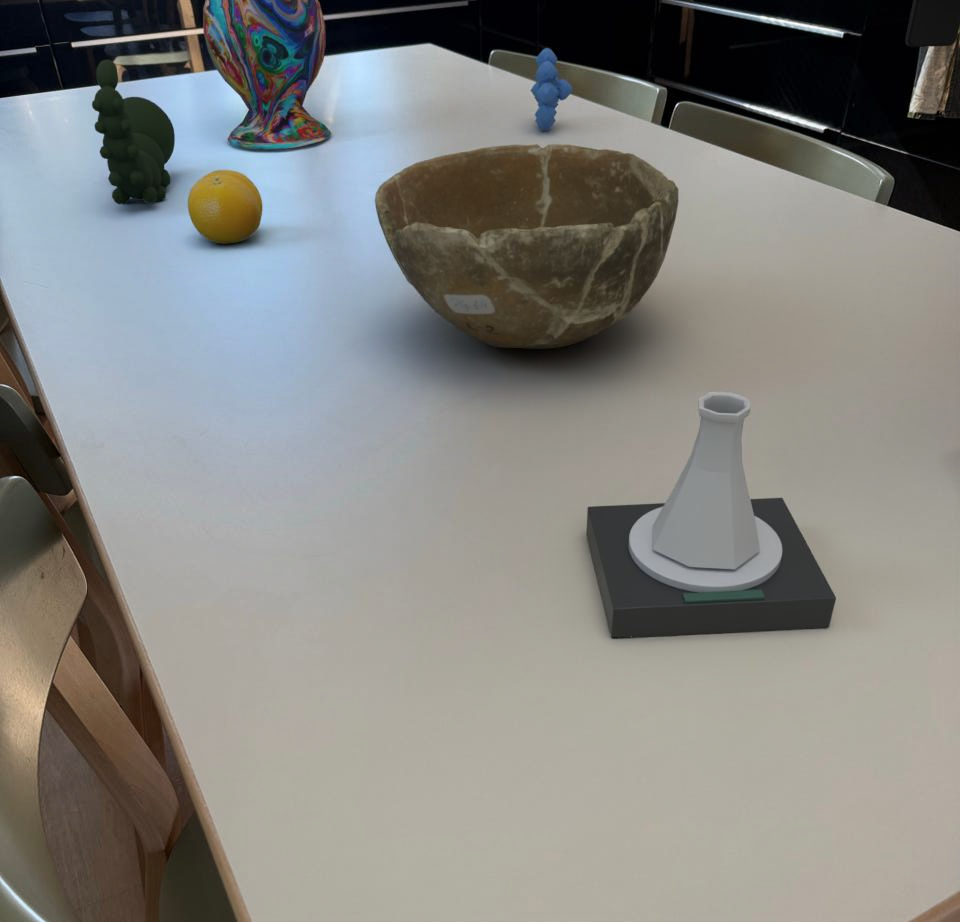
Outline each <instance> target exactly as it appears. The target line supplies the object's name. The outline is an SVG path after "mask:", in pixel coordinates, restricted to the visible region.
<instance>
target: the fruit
mask: <svg viewBox="0 0 960 922" xmlns="http://www.w3.org/2000/svg"><path fill="white" fill-rule="evenodd" d="M263 207H264V206H263V200H262V196H261V193H260V191H259V189H258V187H257V186H256V185H255V183H254V182H253V181H252V180H251V179H250V178H249V177H247V175H245V174H243V173H241V172H239V171H235V170H229V169H219V170H214V171H211V172H209V173H207V174H205V175H204V176H202V177H201V178H200V179H199V180H197V181H196V182H195V183H194V184H193V186H192V187H191V188H190V191H189V193H188V197H187V209H188V215H189V218H190V221H191V223H192V225H193V226H194V228H195V230H196V231H197V232H198V233H199V234H200V236H203V237H204V238H205V239H207V240H209V241H211V242H214V243H217V244H222V245H223V244H224V245H225V244H236V243H239V242H242V241H244V240H247V239H249V238H250V237H252V236H253V235H254V234H255V233H256V231H257V230H259V228H260V225H261V220H262V216H263Z"/></svg>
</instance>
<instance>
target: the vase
mask: <svg viewBox="0 0 960 922" xmlns="http://www.w3.org/2000/svg"><path fill="white" fill-rule="evenodd" d="M204 1H205V2H204V4H203V8H202V17H203V18H202V20H203V22H202V23H203V24H202V25H203V27H202V28H203V36H204V39H205V45H206V49H207V52H208V54H209V57H210V59H211V62H212V64H213V66H214V68H215V69H216V71H217V72H218V74H219V75H220V77H222V79H223V80H224V82H225V83H226V84H227V85H228V86H229V87H230V88H231V89H232V90H233V91H234V92H235V93H236V94H237V95H239V97H240V98H241V100H242V101H243V103H244V105H245V106H246V108H247V109H248V110H247V111H246V114H245V116H244V118H243V119H242V121H241V122H240V123H239V124H238V125H237V126H236V127H234V128H233V130H231V131H230V133H229V135H228V137H227V140H226V141H227V142H228V143H229V144H231V145H232V146H235V147H239V148H244V149H252V150H283V149H284V150H285V149H292V148H300V147H305V146H309V145H313V144H316V143H319V142H322V141H324V140H326V139H328V138H329V137H330V136H331V135H332V131H331V130H330V129H329V127H327V126H326V125H325V123H323V122H321V121H320V120H318V119H316V118H315V117H313V116H312V115H311V114H310V113H309V112H308V111H307V110H306V108H305V107H304V103H305V100H306V96H307V93H308V91H309V89H310V88H311V86H312V85H313V83H314V82H315V80H316V78H317V77H318V76H319V73H320V70H321V68H322V65H323V63H324V59H325V53H326V46H327V42H326V37H327V36H326V22H325V19H324V15H323V11H322V7H321V3H320V1H319V0H204Z"/></svg>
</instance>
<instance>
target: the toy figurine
mask: <svg viewBox="0 0 960 922" xmlns="http://www.w3.org/2000/svg"><path fill="white" fill-rule="evenodd" d="M95 73H96V75H95V77H96V81H97V84H98V87H99V89H98V90H97V91H96V93H95V95H94V100H92V102H91V106H92V109H93V110H94V111H95V112H98V116H97V121H96V122H95V123H94V130H95V131H96V132H97V133H99V134H101V135H103V137H102V146H101V147H100V149H99V155H100V157H101V158H102V159H104V160H107V161H106V163H107V168H108V171H109V175H108V177H107V180H108V182H109V184H110V185H111V186H112V187H116V188H115V189H113V190H112V192H111V198H112V200H113V201H114V202H115V204H118V205H125V204H127V203H129V202H130V200H131V199H134V200H140V201H141V200H143V201H144V202H146V203H148V204H149V203H154V202H156V201H160V202H161V201H163V200H165V199H166V197H167V190H166V188H168V187H169V186H170V185H171V182H172V178H171V175H170V173H169V171H168V170H167V169H165V168H166V167H165V165H166V164H167V163H168V161H170V160H171V157H172V155H173V153H174V150H175V143H176V137H175V129H174V125H173V123H172V120H171V119H170V117H169V115H168V114H167V113H166V112H165V111H164V110H163V109H162V108H161V107H160V106H159V105H158V104H156V102H153V101H151V100H150V99H147V98H145V97H140V96H127V97H124V98H123V96H122V94H121V93H120V92H119V91H118V90H116V88H117V86H118V83H119V73H118V67H117V65H116V63H115V62H114V61H112V60H111V59H104V60H101V61H100V62H99V64H98V65H97V67H96V72H95Z"/></svg>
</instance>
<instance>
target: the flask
mask: <svg viewBox="0 0 960 922" xmlns="http://www.w3.org/2000/svg"><path fill="white" fill-rule="evenodd" d="M697 406H698V416H699V417H700V421H699V427H698V432H697V435H696V438H695V440H694V444H693V446H692V450H691V454H690V456H689V457H688V459H687V461H686V464H685V465H684V467H683V469H682V471H681V473H680V475H679V477H678V479H677V481H676V483H675V484H674V486H673V489H672V490H671V492H670V494H669V496H668V497H667V499H666V501H665V502H664V503H665V504H664V506H663V508H662V510H661V511H660V513H659V515H658V517H657V519H656V521H655V523H654V525H653V550H655V551H657V552H659V553H661V554H663V555H665V556H667V557H670V558H672V559H674V560H676V561H678V562H680V563H682V564H684V565H686V566H689V567H701V568H719V569H736V568H737V567H739V566H740V565H741V564H743V563H744V562H745V561H747V560H748V559H749V558H751V557H752V556H753V555H755V554H756V553H757V552H759V551H760V549H759V541H758V534H757V527H756V522H755V517H754V513H753V509H752V505H751V500H750V499H751V496H750V492H749V488H748V483H747V479H746V474H745V469H744V463H743V447H742V446H743V445H742V443H743V442H742V437H743V429H744V423H745V419H746V418H748V417H749V416H750V415H751V409H752V407H751V401H750V398H749V397H746V396H743V395H740V394H738V393H735V392H732V391H709V392H707V393H706V394H704V395H702V396H700V397H699V398H698V400H697Z"/></svg>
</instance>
